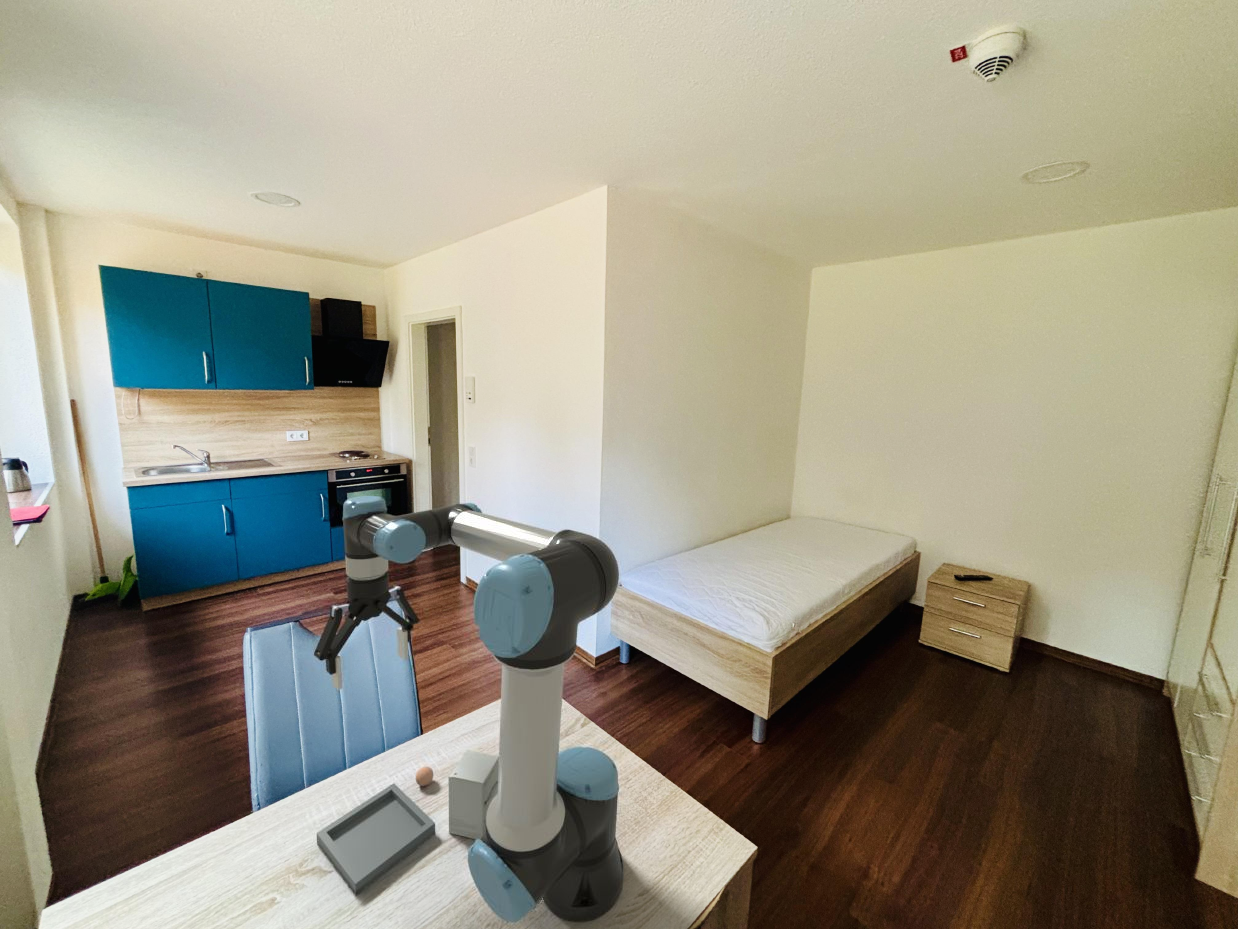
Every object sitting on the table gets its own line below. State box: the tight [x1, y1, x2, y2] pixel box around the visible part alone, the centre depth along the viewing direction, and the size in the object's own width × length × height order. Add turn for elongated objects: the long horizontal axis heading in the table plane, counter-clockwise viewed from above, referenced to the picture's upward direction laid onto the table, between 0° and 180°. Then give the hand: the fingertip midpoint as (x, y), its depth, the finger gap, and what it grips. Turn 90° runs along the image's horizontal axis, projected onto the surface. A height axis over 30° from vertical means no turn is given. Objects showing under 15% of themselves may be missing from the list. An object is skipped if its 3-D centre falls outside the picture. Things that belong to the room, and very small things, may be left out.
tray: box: [316, 782, 436, 897], centre depth 93 cm, size 15×15×2 cm
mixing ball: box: [415, 765, 434, 787], centre depth 106 cm, size 4×4×4 cm
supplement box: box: [448, 750, 499, 840], centre depth 97 cm, size 7×7×13 cm
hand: (372, 671), depth 101 cm, fingers open, 13 cm apart
